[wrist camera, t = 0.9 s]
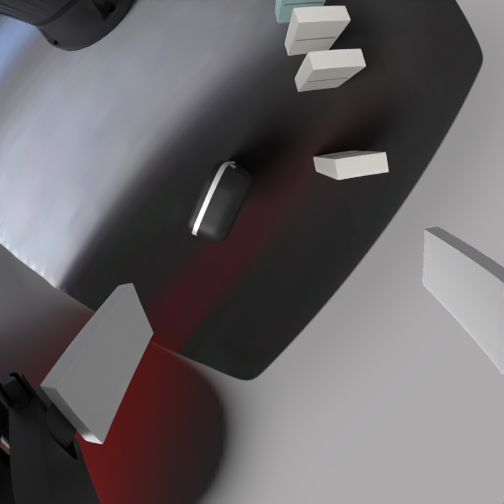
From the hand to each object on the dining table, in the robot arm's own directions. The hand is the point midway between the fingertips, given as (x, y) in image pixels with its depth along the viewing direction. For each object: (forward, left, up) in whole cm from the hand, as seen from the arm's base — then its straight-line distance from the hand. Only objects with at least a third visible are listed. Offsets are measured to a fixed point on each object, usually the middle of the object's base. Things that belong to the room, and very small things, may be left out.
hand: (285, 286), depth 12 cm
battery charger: (-2, -4, -24) cm, 24 cm away
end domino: (-3, +9, -24) cm, 25 cm away
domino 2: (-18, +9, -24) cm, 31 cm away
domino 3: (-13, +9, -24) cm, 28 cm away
